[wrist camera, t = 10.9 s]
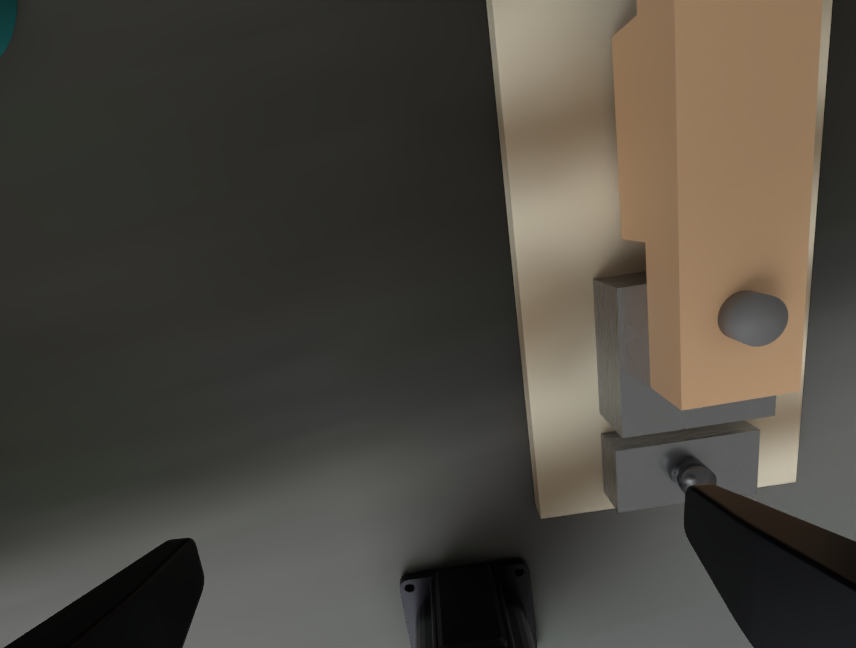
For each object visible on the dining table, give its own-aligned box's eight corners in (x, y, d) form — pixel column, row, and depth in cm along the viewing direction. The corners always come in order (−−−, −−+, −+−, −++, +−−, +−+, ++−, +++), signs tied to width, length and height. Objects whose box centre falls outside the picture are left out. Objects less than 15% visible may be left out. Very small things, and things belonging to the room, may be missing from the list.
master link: (723, 355, 18) (821, 401, 14) (628, 370, 18) (696, 421, 14) (727, -180, 14) (876, -365, 9) (601, -157, 14) (690, -331, 9)
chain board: (778, 469, 21) (795, 481, 21) (535, 505, 22) (541, 518, 21) (837, -446, 13) (870, -497, 12) (448, -383, 14) (451, -429, 13)
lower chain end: (732, 472, 20) (771, 504, 18) (603, 491, 20) (626, 525, 18) (740, 256, 18) (786, 263, 16) (592, 279, 18) (618, 288, 16)
